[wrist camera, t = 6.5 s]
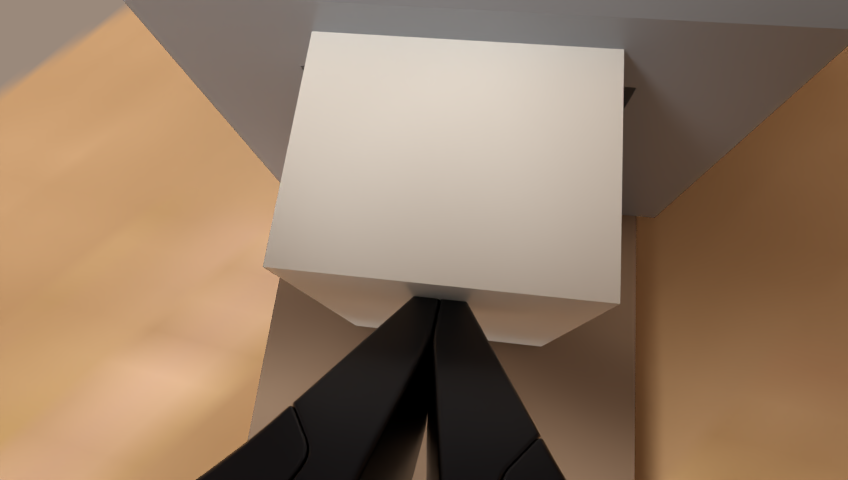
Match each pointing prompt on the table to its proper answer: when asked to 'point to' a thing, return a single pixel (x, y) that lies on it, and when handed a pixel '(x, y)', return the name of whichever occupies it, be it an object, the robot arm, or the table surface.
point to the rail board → (524, 364)
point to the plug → (455, 181)
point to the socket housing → (530, 24)
